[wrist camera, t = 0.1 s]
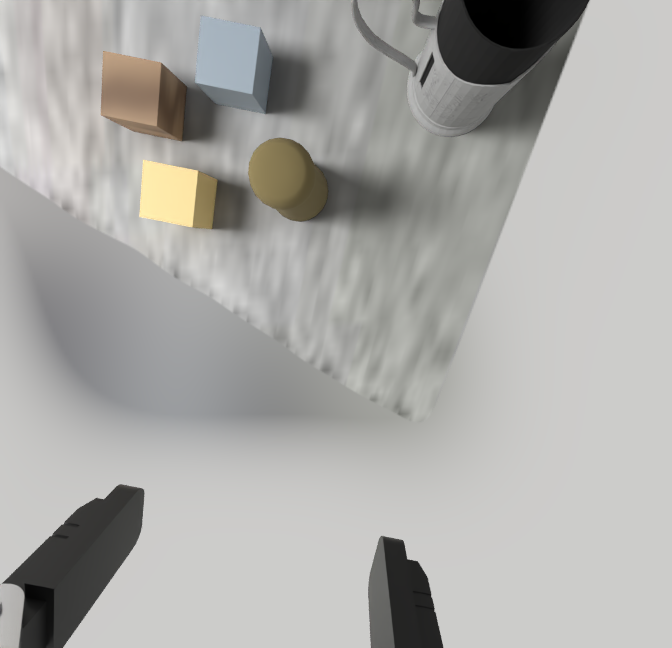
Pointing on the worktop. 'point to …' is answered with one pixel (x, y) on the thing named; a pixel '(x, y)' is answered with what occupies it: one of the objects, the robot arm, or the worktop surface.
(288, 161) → the cork
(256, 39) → the slate block
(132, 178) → the worktop surface
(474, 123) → the glass holder
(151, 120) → the walnut block
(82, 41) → the worktop surface
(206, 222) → the mustard block
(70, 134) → the worktop surface
